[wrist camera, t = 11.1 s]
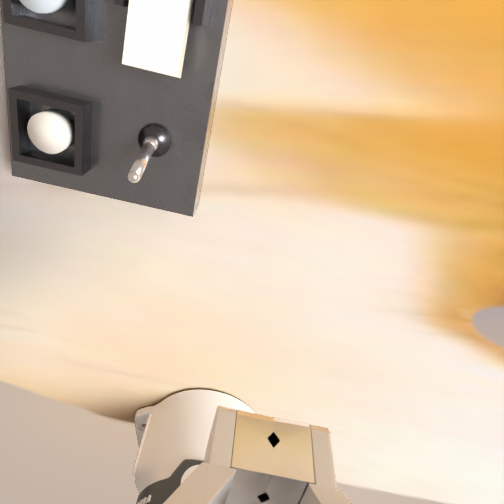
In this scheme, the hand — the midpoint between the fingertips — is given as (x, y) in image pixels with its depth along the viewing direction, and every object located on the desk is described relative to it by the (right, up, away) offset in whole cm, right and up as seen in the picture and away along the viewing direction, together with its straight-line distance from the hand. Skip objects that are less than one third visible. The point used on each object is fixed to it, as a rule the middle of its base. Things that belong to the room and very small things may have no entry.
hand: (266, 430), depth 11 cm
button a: (-16, +15, +23) cm, 31 cm away
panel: (-11, +20, +23) cm, 33 cm away
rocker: (-6, +22, +18) cm, 29 cm away
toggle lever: (-8, +13, +22) cm, 27 cm away
